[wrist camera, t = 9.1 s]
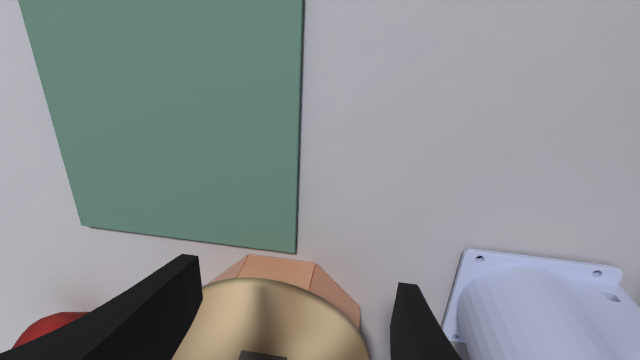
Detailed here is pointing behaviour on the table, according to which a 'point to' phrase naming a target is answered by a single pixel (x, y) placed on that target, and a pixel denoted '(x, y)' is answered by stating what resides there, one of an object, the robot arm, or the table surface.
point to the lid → (268, 325)
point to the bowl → (296, 280)
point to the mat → (176, 113)
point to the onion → (47, 326)
